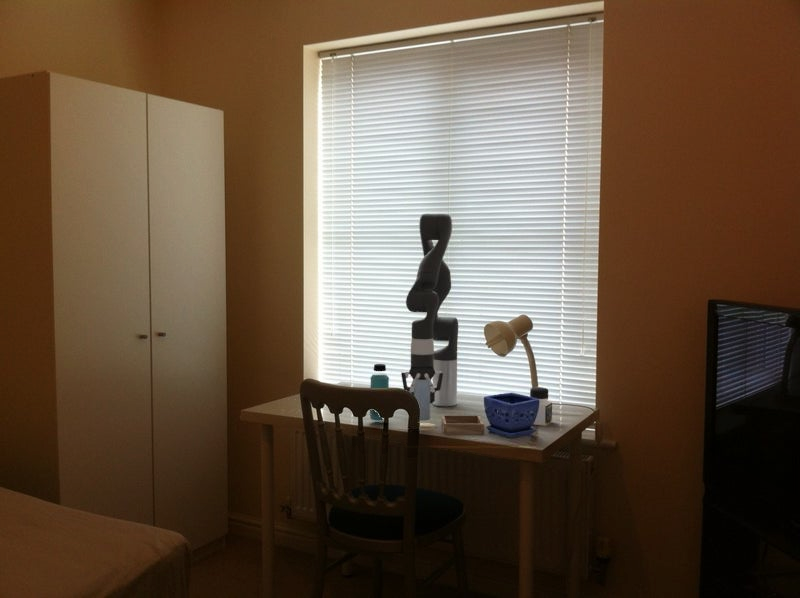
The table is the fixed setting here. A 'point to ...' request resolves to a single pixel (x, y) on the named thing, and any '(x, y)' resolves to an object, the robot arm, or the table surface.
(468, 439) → the table surface
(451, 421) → the tray
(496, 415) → the flower pot
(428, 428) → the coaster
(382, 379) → the beverage bottle
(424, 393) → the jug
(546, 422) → the medicine bottle
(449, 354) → the robot arm
